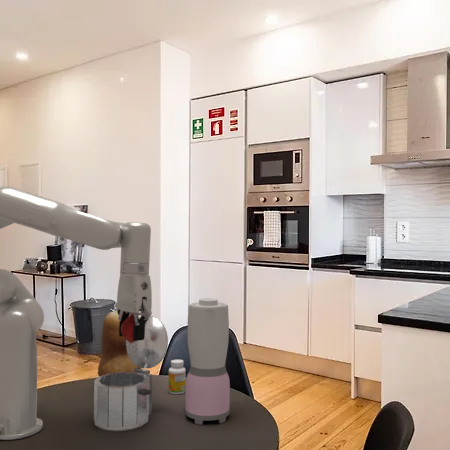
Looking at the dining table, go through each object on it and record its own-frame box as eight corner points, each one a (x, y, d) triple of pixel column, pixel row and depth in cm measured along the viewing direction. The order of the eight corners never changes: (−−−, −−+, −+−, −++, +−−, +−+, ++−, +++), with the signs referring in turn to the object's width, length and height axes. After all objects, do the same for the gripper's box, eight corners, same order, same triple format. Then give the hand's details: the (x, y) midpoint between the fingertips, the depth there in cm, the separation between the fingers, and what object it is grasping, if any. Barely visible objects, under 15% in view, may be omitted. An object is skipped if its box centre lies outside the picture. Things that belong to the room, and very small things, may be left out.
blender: (234, 423, 131) (235, 302, 132) (188, 427, 129) (189, 303, 129) (222, 403, 147) (223, 294, 147) (181, 406, 144) (182, 295, 145)
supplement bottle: (166, 390, 159) (167, 359, 159) (183, 388, 160) (183, 358, 160) (170, 395, 153) (170, 363, 154) (187, 393, 155) (187, 362, 155)
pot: (129, 437, 122) (129, 392, 122) (77, 422, 131) (78, 380, 132) (168, 417, 136) (169, 376, 136) (119, 404, 145) (120, 366, 145)
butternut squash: (142, 396, 152) (142, 314, 153) (96, 399, 149) (97, 316, 149) (139, 382, 166) (140, 307, 166) (97, 385, 163) (98, 308, 163)
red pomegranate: (147, 342, 132) (148, 312, 132) (134, 346, 127) (135, 315, 127) (129, 339, 135) (130, 310, 135) (115, 343, 129) (117, 313, 130)
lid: (167, 318, 138) (172, 318, 139) (128, 313, 146) (132, 313, 147) (161, 376, 135) (165, 376, 137) (121, 368, 143) (125, 368, 145)
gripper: (165, 271, 128) (162, 342, 127) (128, 266, 140) (125, 330, 140) (141, 272, 122) (138, 346, 122) (105, 267, 135) (101, 333, 134)
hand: (131, 337), depth 131 cm, fingers closed on red pomegranate, 5 cm apart
